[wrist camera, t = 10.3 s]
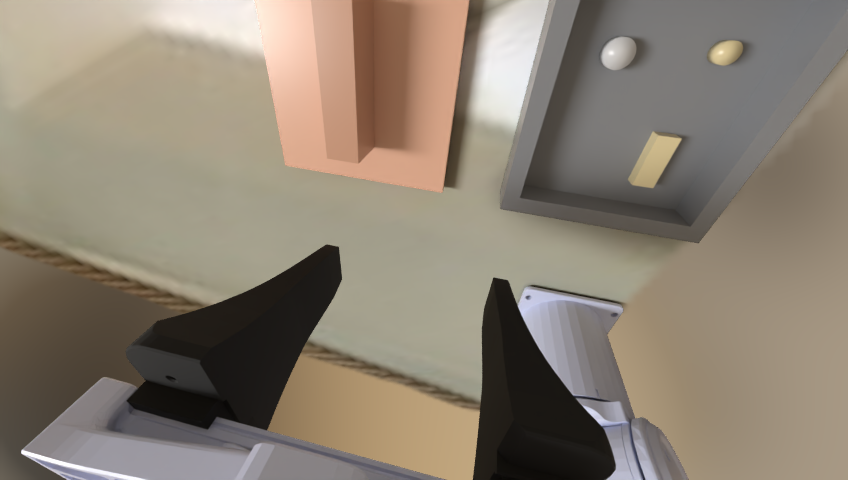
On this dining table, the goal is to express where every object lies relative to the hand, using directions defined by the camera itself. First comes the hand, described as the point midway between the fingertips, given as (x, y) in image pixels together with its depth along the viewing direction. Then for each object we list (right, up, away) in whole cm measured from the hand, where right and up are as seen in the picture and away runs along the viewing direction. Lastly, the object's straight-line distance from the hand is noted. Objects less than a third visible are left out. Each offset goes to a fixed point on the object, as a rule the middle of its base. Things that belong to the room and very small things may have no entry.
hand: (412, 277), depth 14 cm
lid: (-3, +12, +5) cm, 13 cm away
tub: (+12, +9, +3) cm, 16 cm away
